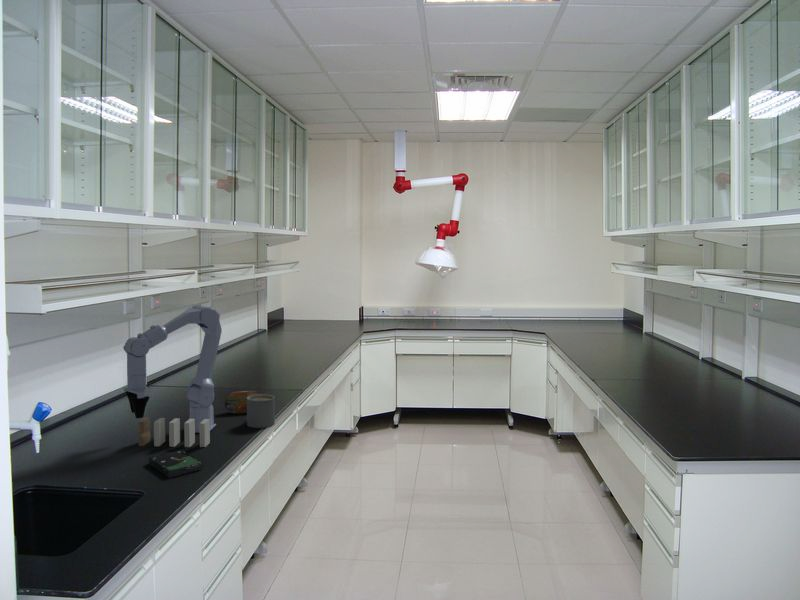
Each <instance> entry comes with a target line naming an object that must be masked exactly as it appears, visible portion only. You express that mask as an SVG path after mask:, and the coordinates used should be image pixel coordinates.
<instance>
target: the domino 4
mask: <svg viewBox="0 0 800 600" xmlns="http://www.w3.org/2000/svg"><path fill="white" fill-rule="evenodd" d="M210 431H211V430H210V419H204V420H203V421H202V422H201V423H200V433H199V448H201V447H205V448H206V447H207V446H208V445H209V444H210V443H211V436H210V435H211V432H210Z"/></svg>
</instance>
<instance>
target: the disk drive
mask: <svg viewBox="0 0 800 600" xmlns="http://www.w3.org/2000/svg"><path fill="white" fill-rule="evenodd" d="M148 464H149V466H151V467H153V468H154V469H155V470H157V471H158V472H159V473H161V474H162V475H164V476H165V477H167V478H168V479H171V478H174V477H175V476H176V477H179V475H180V476H183V475H182V474H184V475H186V473H187V474H190V473H189V472H191V473H194V472H193V471H195V472H197V471H196V470H199V469H202V470H203V464H202V462H201V461H200V460H199V459H197V458H196V457H194V456H192V455H191V454H189V453H187V452H185V451H184V450H179V449H178V450H175V451H171V452H166V453H163V454H161V455H152V456H149V457H148ZM199 471H200V470H199ZM176 477H175V478H176Z"/></svg>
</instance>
